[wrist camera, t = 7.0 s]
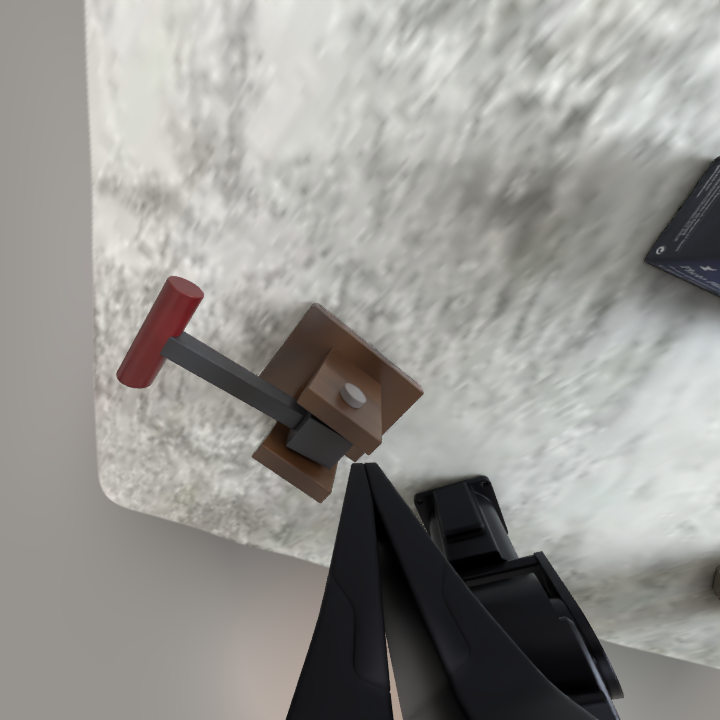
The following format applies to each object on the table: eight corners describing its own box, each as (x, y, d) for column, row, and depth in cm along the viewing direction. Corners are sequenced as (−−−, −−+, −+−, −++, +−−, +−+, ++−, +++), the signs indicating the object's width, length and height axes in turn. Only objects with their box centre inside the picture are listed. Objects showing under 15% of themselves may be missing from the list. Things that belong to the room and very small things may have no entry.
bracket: (257, 381, 22) (188, 444, 14) (316, 301, 20) (275, 323, 12) (356, 453, 23) (344, 547, 15) (422, 386, 21) (447, 456, 13)
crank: (136, 359, 14) (99, 382, 12) (185, 272, 13) (153, 279, 11) (315, 457, 18) (311, 488, 15) (370, 397, 16) (376, 422, 14)
